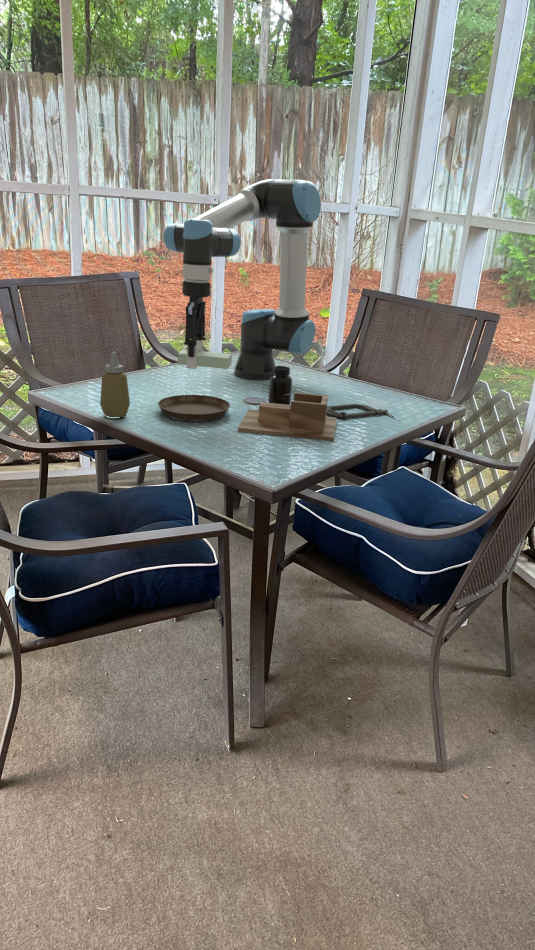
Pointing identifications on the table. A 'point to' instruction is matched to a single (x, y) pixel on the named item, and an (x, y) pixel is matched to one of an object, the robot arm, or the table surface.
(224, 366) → the bar
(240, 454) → the table surface
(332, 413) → the c clamp
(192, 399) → the plant saucer
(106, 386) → the squeeze bottle
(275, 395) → the supplement bottle
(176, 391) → the table surface
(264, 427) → the cradle
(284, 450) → the table surface
